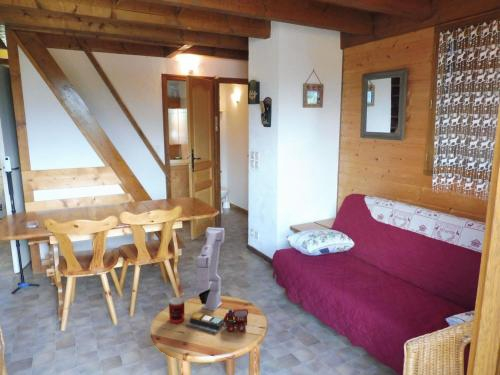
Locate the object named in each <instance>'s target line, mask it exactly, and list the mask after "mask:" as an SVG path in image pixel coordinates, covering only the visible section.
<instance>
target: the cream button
mask: <svg viewBox="0 0 500 375" xmlns="http://www.w3.org/2000/svg"><path fill="white" fill-rule="evenodd" d="M211 316H212V315H209V316H207V314H205V316H204V317H203V318H202V321H204V322H208V323H209V322H210V321H211V320H212V317H211Z"/></svg>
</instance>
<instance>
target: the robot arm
mask: <svg viewBox="0 0 500 375" xmlns="http://www.w3.org/2000/svg"><path fill="white" fill-rule="evenodd" d="M225 231H226V230H225V228H224V227H210V226H208V227H207V228H206V229H205V238H206V242H205V245H203V246H202V248H201V251H200V252H199V255H198V256H197V257H196V259H195V267H196V272H197V285H196V286H195V288H196V290H195V291H194V293H193V294H194V297H197V298H198V297H199V300H200V303H201V305H202V306H201V308H202V309H204V310H209V311H213V312H215V311H216V310H217V309H218V308H219V307H220V306H221V305H222V304H223V302H222V300H221V298H222V297H221V295H222V293H221V292H222V291H221V288H222V278H221V277H220V276H219V275H218V265H219V258H220V257H219V256H220V250H221V246H222V244H224V243H225V238H226V237H225V236H226V232H225Z"/></svg>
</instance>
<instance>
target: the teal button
mask: <svg viewBox="0 0 500 375" xmlns="http://www.w3.org/2000/svg"><path fill="white" fill-rule="evenodd" d="M219 318H220V317H217V318H214V319H213V320H212V321H211V324H215V325H219V324H220V323H221V322H222V319H223V318H221V319H219Z"/></svg>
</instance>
